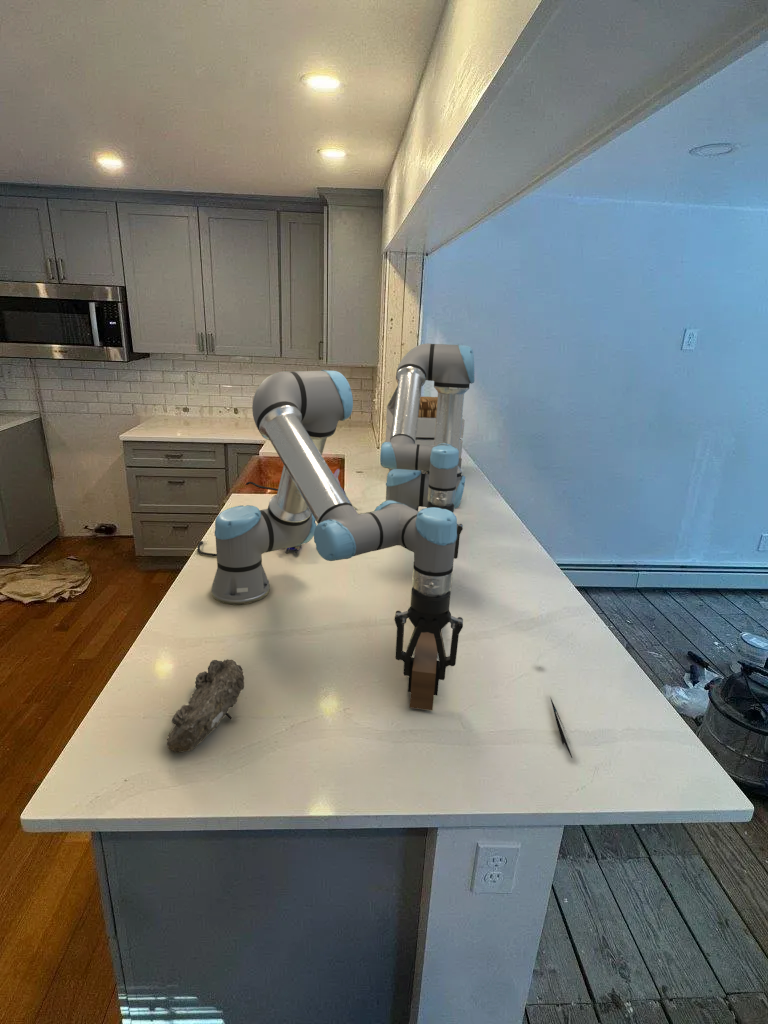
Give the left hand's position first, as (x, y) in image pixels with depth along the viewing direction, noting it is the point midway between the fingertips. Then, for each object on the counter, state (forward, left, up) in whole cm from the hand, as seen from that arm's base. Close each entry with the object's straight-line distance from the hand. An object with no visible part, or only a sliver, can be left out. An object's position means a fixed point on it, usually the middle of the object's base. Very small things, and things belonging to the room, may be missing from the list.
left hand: (422, 689), depth 116 cm
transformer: (-121, +116, -2) cm, 168 cm away
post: (-17, +19, -1) cm, 26 cm away
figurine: (-105, +54, -2) cm, 118 cm away
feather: (+19, +18, -2) cm, 26 cm away
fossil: (-20, -36, -2) cm, 42 cm away
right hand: (-35, +39, 0) cm, 52 cm away
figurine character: (-80, +19, -2) cm, 82 cm away
